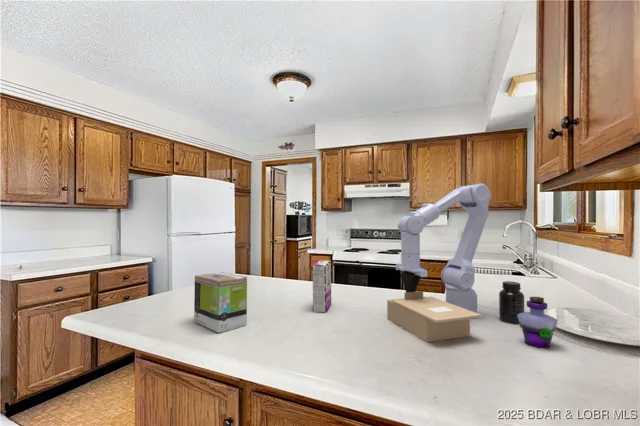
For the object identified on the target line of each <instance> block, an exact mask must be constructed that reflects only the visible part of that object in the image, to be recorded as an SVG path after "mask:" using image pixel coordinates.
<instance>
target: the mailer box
mask: <svg viewBox="0 0 640 426" xmlns="http://www.w3.org/2000/svg"><path fill="white" fill-rule="evenodd" d="M401 299H402V298H396V299H387V303H386V304H387V305H386V307H387V308H386V309H387V312H386V313H387V315H386V316H387V318H386V319H387V320H389V321H390V322H392V323H394V324H395V325H397V326H399V327H400V328H402V329H404V330H405V331H407V332H409V333H411V334H412V335H414V336H416V337H418V338H419V339H421V340H422V339H423V340H422V341H424V340H425V341H424V342H426V343H429V341H431V342H437V340H438V341H444V339H445V340H450V339H451V338H452V339H456V338H457V339H458V338H464V337H470V336H471V319H464V320H455V321H447V322H439V323H435V322H433V321H431V320H429V319H427V318H425V317H422V316H420V315H418V314H416V313H414V312H412V311H410V310H408V309H406V308H404V307H401V306H399V305H397V304H395V303H393V300H401ZM403 299H405V297H404V298H403Z"/></svg>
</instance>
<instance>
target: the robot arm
mask: <svg viewBox="0 0 640 426" xmlns="http://www.w3.org/2000/svg"><path fill="white" fill-rule="evenodd" d="M491 197H492V194H491V191H490V189H489V187H488V186H487V185H486V184H484V183H477V184H470V185H461V186H458V188H454V189H453V190H452V191H451V192H449V193H448V194H447V195H445V196H444V197H442V198H441V199H439V200H437V202H435V203H423V204H422V205H421V207H420V208H418V209H416V210H415V211H411V212H410V213H409V215H405V216H403V217H401V218H400V220H399V222H398V224H397V229H398V231H399V232H400V236H401V239H400V240H401V241H400V243H401V244H400V247H401V248H400V249H401V255H400V256H401V261H400V262H401V263H396V264H395V270H396V271H402V273H399V277H400V279H401V280H402V282H403V285H404V290H405V292H414V291H417V288H418V286H419V283H420V281H421V279H422V278H428V270H427V269H424V268H422V267H421V241H420V240H421V239H420V238H421V236H420V235H421V233H422V232H423V230H424V227H426V226H428V225H431V223H433V222H435V221H436V220H437V219H439V217H440V214H441V213H442V212H443V211H445V210H447V209H449V208H450V207H453V206H454V205H456V204H460V206H461V207H462V208H463V209H464V210H465V211H467V213H468V218H467V220H466V224H465V226H464V229H463V232H462V234H461V237H460V240H459V243H458V245H457V249H456V251H455V254H454V257H453V258H450V260H448V261H447V264H446V266H445V267H444V268H443V269H442V271H441V273H440V278H441V281H442V282H443V283H444V287H445V302H448V303H450V304H453V305H456V306H458V307H461V308H464V309H467V310H469V311H472V312H475V313H478V295H477V291H475V289H474V288H472V287H474V284H475V273H476V268H475V266H474V265H473V264H472V262H473V259H474V257H475V253H476V251H477V248H478V245H479V242H480V239H481V236H482V234H483V230H484V228H485V225H486V222H487V219H488V217H489V203H490V201H491Z"/></svg>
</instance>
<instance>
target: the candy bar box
mask: <svg viewBox="0 0 640 426" xmlns="http://www.w3.org/2000/svg"><path fill="white" fill-rule="evenodd" d="M311 266H312V267H311V268H312V313H322V314H325V313H327V311H328V310H329V308H330V307H331V305H332V261H331V260H318V261H317V262H315V263H313V264H312V265H311Z"/></svg>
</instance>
